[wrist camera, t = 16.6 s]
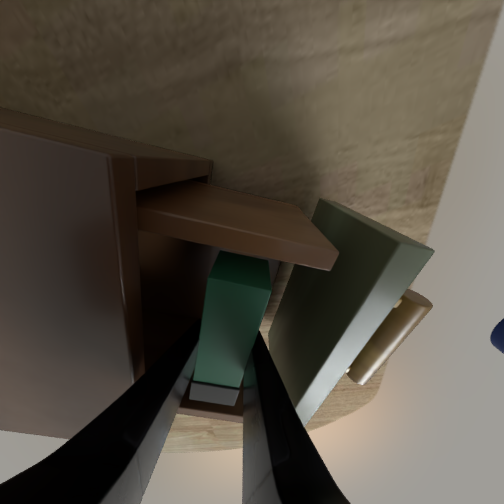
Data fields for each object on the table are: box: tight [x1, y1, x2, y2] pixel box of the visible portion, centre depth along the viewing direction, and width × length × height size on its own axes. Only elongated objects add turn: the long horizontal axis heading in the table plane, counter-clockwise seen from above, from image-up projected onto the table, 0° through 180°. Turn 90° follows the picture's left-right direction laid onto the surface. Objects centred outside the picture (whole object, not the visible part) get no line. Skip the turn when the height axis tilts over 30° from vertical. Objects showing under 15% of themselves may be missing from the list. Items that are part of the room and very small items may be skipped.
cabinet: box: [0, 108, 213, 439], centre depth 11 cm, size 16×15×10 cm
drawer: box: [136, 180, 434, 427], centre depth 12 cm, size 19×14×8 cm
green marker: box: [189, 250, 272, 406], centre depth 9 cm, size 8×2×2 cm, turn 167°
